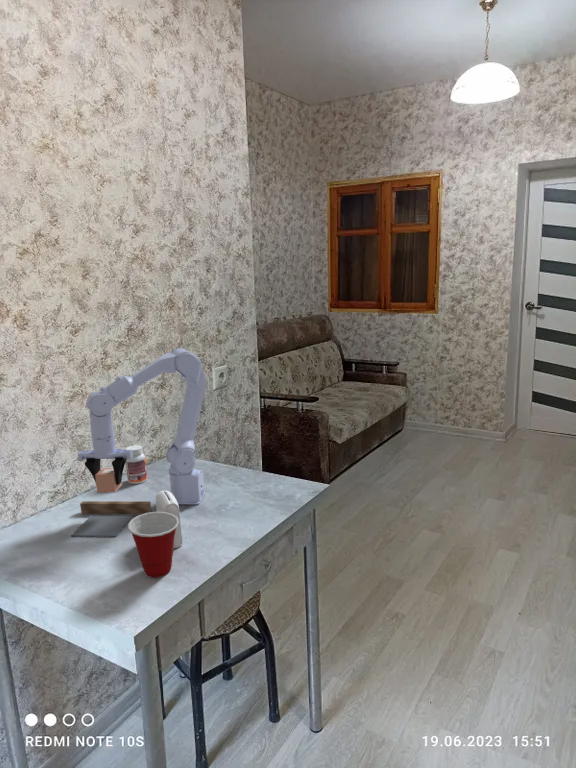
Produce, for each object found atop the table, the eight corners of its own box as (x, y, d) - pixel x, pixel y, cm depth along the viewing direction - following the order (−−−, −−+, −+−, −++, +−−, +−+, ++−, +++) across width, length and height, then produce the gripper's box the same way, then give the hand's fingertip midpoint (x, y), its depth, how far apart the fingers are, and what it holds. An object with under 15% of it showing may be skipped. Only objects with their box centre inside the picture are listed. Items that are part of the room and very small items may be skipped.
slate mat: (133, 515, 149) (133, 514, 148) (115, 537, 137) (115, 535, 137) (92, 515, 150) (92, 514, 150) (70, 536, 138) (70, 535, 138)
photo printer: (157, 533, 138) (152, 488, 135) (174, 529, 139) (169, 484, 137) (167, 551, 129) (162, 503, 126) (184, 546, 130) (180, 499, 128)
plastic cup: (169, 587, 114) (163, 535, 111) (124, 581, 117) (117, 530, 114) (191, 560, 124) (187, 512, 121) (149, 555, 127) (144, 508, 124)
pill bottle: (151, 480, 174) (147, 447, 171) (133, 486, 170) (129, 452, 167) (141, 475, 178) (137, 443, 176) (124, 481, 174) (120, 448, 172)
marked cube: (122, 484, 150) (120, 467, 149) (115, 492, 145) (113, 474, 144) (104, 485, 150) (102, 467, 149) (97, 492, 146) (95, 474, 145)
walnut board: (151, 511, 151) (150, 501, 150) (149, 513, 149) (148, 503, 149) (84, 511, 153) (82, 501, 153) (81, 513, 152) (80, 503, 151)
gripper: (134, 431, 148) (139, 477, 151) (83, 432, 149) (89, 478, 152) (125, 439, 141) (130, 487, 144) (71, 440, 142) (78, 488, 145)
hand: (109, 483), depth 147 cm, fingers closed on marked cube, 5 cm apart
